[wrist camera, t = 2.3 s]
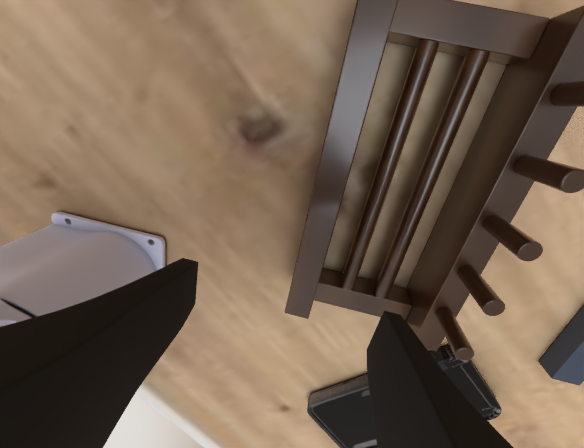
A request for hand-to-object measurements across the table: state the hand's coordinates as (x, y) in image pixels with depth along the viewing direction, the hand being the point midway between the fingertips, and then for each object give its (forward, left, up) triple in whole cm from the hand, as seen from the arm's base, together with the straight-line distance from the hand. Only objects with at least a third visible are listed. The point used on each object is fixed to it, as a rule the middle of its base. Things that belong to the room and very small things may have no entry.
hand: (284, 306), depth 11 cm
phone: (+12, -16, -10) cm, 22 cm away
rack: (+5, +3, -10) cm, 12 cm away
